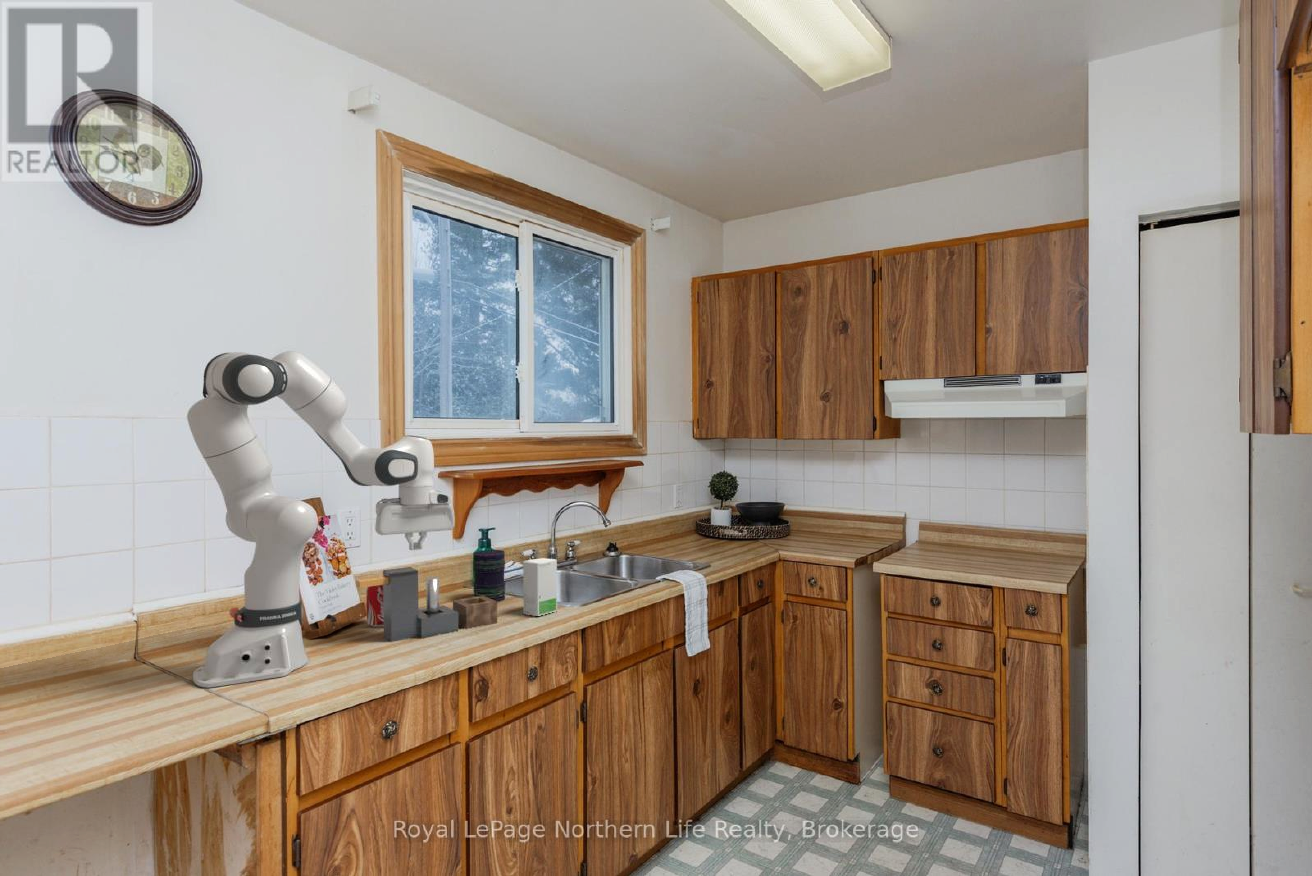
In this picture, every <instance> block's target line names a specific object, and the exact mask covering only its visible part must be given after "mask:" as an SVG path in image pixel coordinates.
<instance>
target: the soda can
mask: <svg viewBox="0 0 1312 876" xmlns="http://www.w3.org/2000/svg"><path fill="white" fill-rule="evenodd" d="M366 621H367V622H366V623H367V625H368V626H370V627H371V626H372V628H384V611H383V585H377V586H370V587H366Z"/></svg>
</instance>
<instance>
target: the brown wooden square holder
mask: <svg viewBox="0 0 1312 876" xmlns="http://www.w3.org/2000/svg"><path fill="white" fill-rule="evenodd" d="M452 610H454V611H456V612H458V626H460V625H461V626H460V627H462V626H463V627H462V628H463V629H466V630H468V628H469V629H473V628H472V627H474V628H477V626H479V627H482V626H481V625H484V626H488V625H493V623H494V624H498V602H497V601H495V600H492V599H490V598H487V597H485V596H478V597H474V596H472V597H466V598H461V599H455V600H452Z"/></svg>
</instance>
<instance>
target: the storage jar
mask: <svg viewBox="0 0 1312 876" xmlns="http://www.w3.org/2000/svg"><path fill="white" fill-rule="evenodd" d="M505 554H506V553H505V551H504V550H501V549H500V550H499V549H486V550H477V551H474V552H473V561H472V562H473V563H472V565H473V568H472V569H473V573H474V576H473V577H474V582H473V584H472V585H473V597H478V596H485V597H487V598H490V599H492V600H495V601H497V603H500V602H503V601H505V600H506V595H505V594H506V581H505V569H506V565H505V564H506V558H505Z"/></svg>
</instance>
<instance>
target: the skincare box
mask: <svg viewBox="0 0 1312 876" xmlns="http://www.w3.org/2000/svg"><path fill="white" fill-rule="evenodd" d="M557 561H558V560H557V559H554V558H544V557H542V558H541V557H540V558H535V559H534V558H533V559H528V560H523V561H522V566H523V567H522V570H523V571H522V572H523V573H522V574H523V575H522V577H523V578H522V579H523V580H522V581H523V582H522V583H523V585H522V587H523V591H522V592H523V593H522V594H523V602H522V603H523V604H522V605H523V615H525V614H526V616H530V615H532V616H531V617H535V616H540V617H542V616H541V615H543V616H546V615H545V614H547V615H549V614H548V613H551V614H553V613H552V612H555V613H557V612H558V562H557ZM556 611H557V612H556Z"/></svg>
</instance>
